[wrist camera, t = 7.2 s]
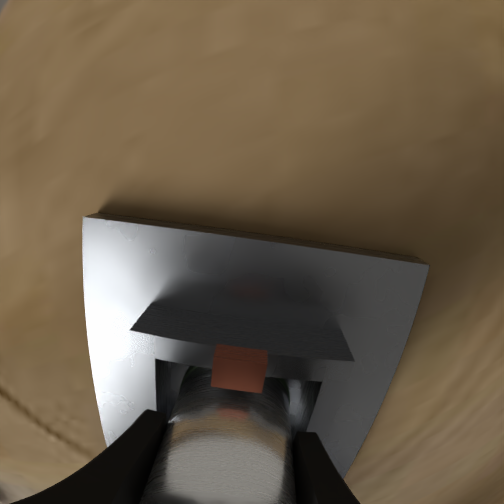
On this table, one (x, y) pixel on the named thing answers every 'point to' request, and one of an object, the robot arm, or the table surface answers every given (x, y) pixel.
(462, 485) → the table surface
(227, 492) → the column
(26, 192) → the table surface
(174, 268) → the stand
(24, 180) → the table surface
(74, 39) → the table surface
